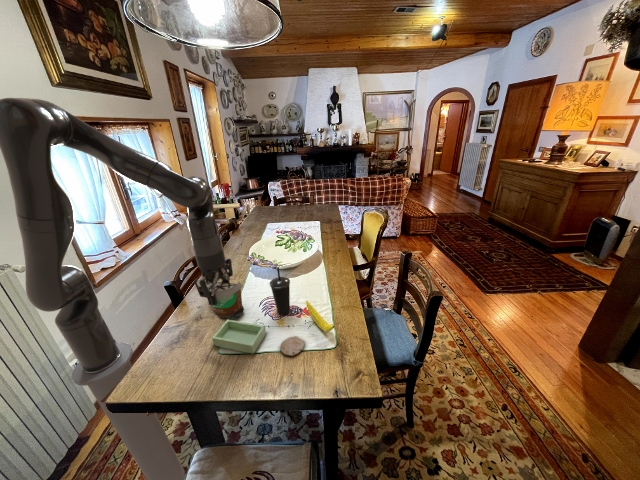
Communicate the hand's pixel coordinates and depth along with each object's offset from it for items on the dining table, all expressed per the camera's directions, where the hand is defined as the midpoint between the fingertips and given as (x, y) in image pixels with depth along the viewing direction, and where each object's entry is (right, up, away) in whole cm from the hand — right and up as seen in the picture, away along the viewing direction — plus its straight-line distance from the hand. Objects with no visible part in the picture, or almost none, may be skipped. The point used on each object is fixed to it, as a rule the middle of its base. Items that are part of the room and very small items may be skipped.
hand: (220, 297), depth 78 cm
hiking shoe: (-8, -10, +26) cm, 29 cm away
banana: (+31, -13, +15) cm, 36 cm away
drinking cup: (+16, -11, +22) cm, 30 cm away
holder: (+3, -17, +10) cm, 20 cm away
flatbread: (+22, -18, +6) cm, 29 cm away
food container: (0, -5, +2) cm, 6 cm away
